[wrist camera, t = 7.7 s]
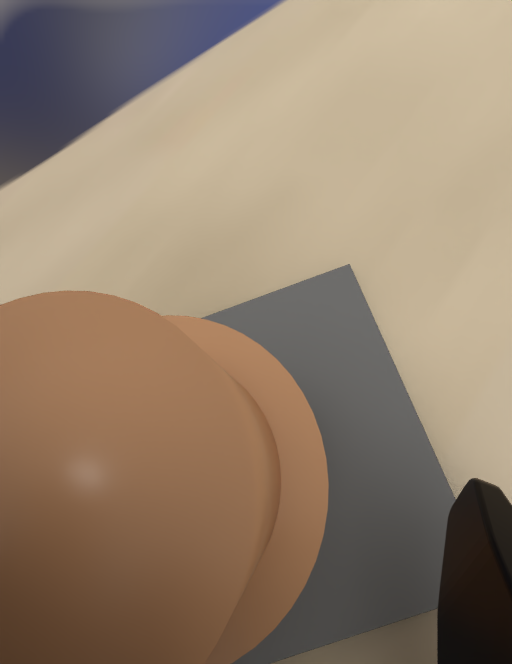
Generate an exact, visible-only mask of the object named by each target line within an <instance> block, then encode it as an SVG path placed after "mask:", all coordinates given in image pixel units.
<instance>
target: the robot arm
mask: <svg viewBox="0 0 512 664" xmlns="http://www.w3.org/2000/svg"><path fill="white" fill-rule="evenodd" d="M438 664H512V505H511V503H510V502H509V500H508V499H507V498H506V496H505V495H504V493H503V492H502V491H501V489H500V488H499V487H497V486H496V485H493V484H491V483H488V482H485V481H483V480H480V479H478V478H472V479H471V480H469V481H468V482H467V484H466V485H465V487H464V488H463V490H462V491H461V493H460V494H459V496H458V498H457V499H456V501H455V502H454V504H453V505H452V507H451V509H450V512H449V515H448V521H447V529H446V538H445V546H444V555H443V563H442V572H441V581H440V589H439V599H438Z"/></svg>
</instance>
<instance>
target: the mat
mask: <svg viewBox="0 0 512 664" xmlns="http://www.w3.org/2000/svg"><path fill="white" fill-rule="evenodd" d="M201 319H206V320H210V321H213V322H216V323H219V324H222V325H225V326H228V327H230V328H232V329H234V330H236V331H238V332H240V333H242V334H244V335H246V336H247V337H249V338H250V339H252V340H253V341H255V342H257V343H258V344H260V345H261V346H262V347H263V348H265V349H266V350H267V351H268V352H269V353H270V354H272V355H273V356H274V357H275V358H276V359H277V360H278V361H279V362H280V363H281V364H282V365H283V367H284V368H285V369H286V370H287V371H288V372H289V373H290V374H291V376H292V377H293V379H294V380H295V382H296V383H297V385H298V386H299V388H300V389H301V391H302V392H303V394H304V396H305V398H306V400H307V402H308V404H309V405H310V407H311V409H312V411H313V413H314V416H315V419H316V422H317V425H318V428H319V430H320V433H321V436H322V441H323V446H324V450H325V455H326V460H327V471H328V482H329V489H328V511H327V517H326V523H325V530H324V536H323V539H322V542H321V546H320V549H319V553H318V556H317V559H316V562H315V564H314V567H313V569H312V571H311V573H310V576H309V578H308V580H307V583H306V585H305V587H304V588H303V590H302V592H301V593H300V595H299V597H298V598H297V600H296V601H295V603H294V605H293V606H292V608H291V609H290V611H289V612H288V613H287V614H286V616H285V617H284V618H283V619H282V620H281V622H280V623H279V624H278V625H277V627H276V628H275V629H274V630H273V631H272V632H271V633H270V634H269V635H268V636H267V637H266V638H264V639H263V640H262V641H261V642H260V643H259V644H258V645H257V646H256V647H255V648H253V649H252V650H250V651H249V652H248V653H246V654H245V655H243V656H242V657H240V658H239V659H237V660H236V661H235V662H233V663H231V664H270V663H273V662H276V661H279V660H282V659H285V658H288V657H291V656H294V655H297V654H300V653H303V652H306V651H309V650H312V649H316V648H319V647H322V646H325V645H328V644H331V643H334V642H337V641H340V640H343V639H346V638H349V637H352V636H355V635H358V634H361V633H364V632H367V631H370V630H373V629H376V628H379V627H382V626H385V625H388V624H391V623H394V622H397V621H400V620H403V619H406V618H409V617H413V616H416V615H419V614H422V613H425V612H428V611H431V610H434V609H437V608H438V599H439V589H440V581H441V572H442V563H443V555H444V546H445V538H446V529H447V521H448V515H449V512H450V509H451V507H452V505H453V504H454V502H455V501H456V499H455V497H454V495H453V493H452V490H451V488H450V486H449V484H448V482H447V479H446V477H445V475H444V473H443V471H442V468H441V466H440V464H439V462H438V459H437V457H436V455H435V453H434V451H433V448H432V446H431V444H430V442H429V439H428V437H427V435H426V433H425V431H424V428H423V426H422V424H421V422H420V419H419V417H418V415H417V413H416V411H415V408H414V406H413V404H412V402H411V400H410V397H409V395H408V393H407V391H406V388H405V386H404V384H403V382H402V380H401V377H400V375H399V373H398V371H397V368H396V366H395V364H394V362H393V360H392V357H391V355H390V353H389V351H388V348H387V346H386V344H385V342H384V340H383V337H382V335H381V333H380V331H379V329H378V326H377V324H376V322H375V320H374V317H373V315H372V313H371V311H370V309H369V306H368V304H367V302H366V300H365V297H364V295H363V293H362V291H361V289H360V286H359V284H358V282H357V280H356V278H355V275H354V273H353V271H352V269H351V266H350V264H348V265H345V266H343V267H340V268H337V269H335V270H332V271H329V272H326V273H324V274H321V275H318V276H315V277H313V278H310V279H307V280H304V281H302V282H299V283H296V284H294V285H291V286H288V287H285V288H283V289H280V290H277V291H274V292H272V293H269V294H266V295H263V296H261V297H258V298H255V299H253V300H250V301H247V302H244V303H242V304H239V305H236V306H233V307H231V308H228V309H225V310H223V311H220V312H217V313H214V314H212V315H209V316H206V317H203V318H201Z"/></svg>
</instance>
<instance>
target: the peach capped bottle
mask: <svg viewBox="0 0 512 664" xmlns="http://www.w3.org/2000/svg"><path fill="white" fill-rule="evenodd" d="M328 489H329V482H328V471H327V460H326V455H325V450H324V446H323V441H322V436H321V433H320V430H319V428H318V425H317V422H316V419H315V416H314V413H313V411H312V409H311V407H310V405H309V404H308V402H307V400H306V398H305V396H304V394H303V392H302V391H301V389H300V388H299V386H298V385H297V383H296V382H295V380H294V379H293V377H292V376H291V374H290V373H289V372H288V371H287V370H286V369H285V368H284V367H283V365H282V364H281V363H280V362H279V361H278V360H277V359H276V358H275V357H274V356H273V355H272V354H270V353H269V352H268V351H267V350H266V349H265V348H263V347H262V346H261V345H260V344H258V343H257V342H255V341H253V340H252V339H250V338H249V337H247V336H246V335H244V334H242V333H240V332H238V331H236V330H234V329H232V328H230V327H228V326H225V325H222V324H219V323H216V322H213V321H210V320H206V319H200V318H195V317H189V316H169V315H167V316H161V315H159V314H158V313H156V312H154V311H152V310H150V309H148V308H146V307H144V306H142V305H140V304H137V303H135V302H132V301H129V300H126V299H123V298H120V297H117V296H113V295H108V294H102V293H96V292H90V291H58V292H48V293H41V294H36V295H32V296H27V297H23V298H19V299H16V300H13V301H11V302H8V303H5V304H2V305H0V664H231V663H233V662H235V661H236V660H237V659H239V658H240V657H242V656H243V655H245V654H246V653H248V652H249V651H250V650H252V649H253V648H255V647H256V646H257V645H258V644H259V643H260V642H261V641H262V640H263V639H264V638H266V637H267V636H268V635H269V634H270V633H271V632H272V631H273V630H274V629H275V628H276V627H277V625H278V624H279V623H280V622H281V620H282V619H283V618H284V617H285V616H286V614H287V613H288V612H289V611H290V609H291V608H292V606H293V605H294V603H295V601H296V600H297V598H298V597H299V595H300V593H301V592H302V590H303V588H304V587H305V585H306V583H307V580H308V578H309V576H310V573H311V571H312V569H313V567H314V564H315V562H316V559H317V556H318V553H319V549H320V546H321V542H322V539H323V536H324V530H325V523H326V517H327V511H328Z"/></svg>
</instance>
